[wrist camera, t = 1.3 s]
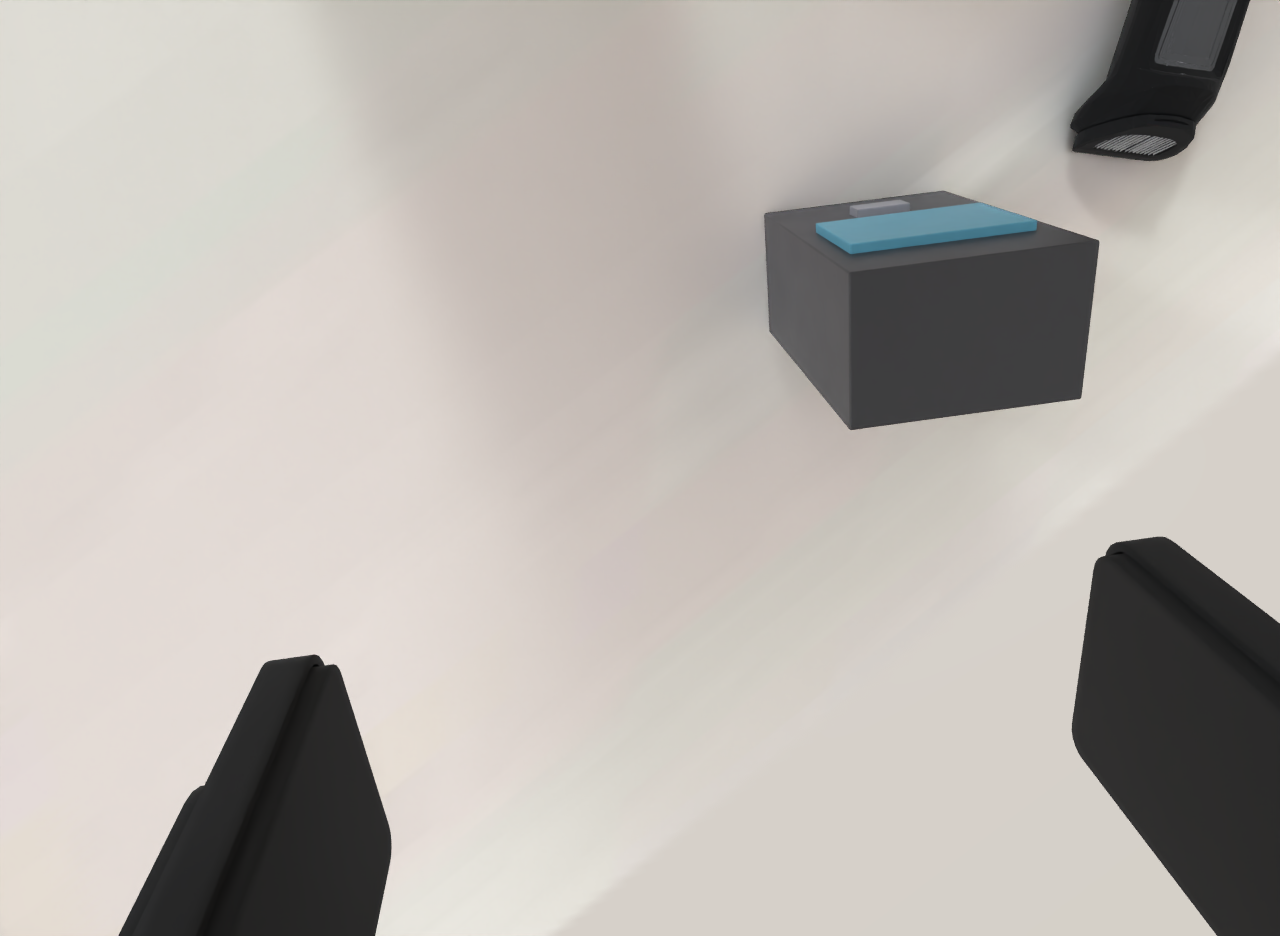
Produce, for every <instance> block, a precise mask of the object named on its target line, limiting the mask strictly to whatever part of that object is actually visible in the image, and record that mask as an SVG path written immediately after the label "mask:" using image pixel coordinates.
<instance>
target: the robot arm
mask: <svg viewBox="0 0 1280 936" xmlns="http://www.w3.org/2000/svg"><path fill="white" fill-rule="evenodd" d="M1072 735H1073V740H1074V743H1075V746H1076V748H1077V750H1078V753H1079V754H1080V756H1081V757H1082V759H1083V760H1084V762H1085V763H1086V764H1087V766H1088V767H1089V768H1090V769H1091V771H1092V772H1093V773H1094V775H1095V776H1096V777H1097V778H1098V780H1099V781H1100V783H1101V784H1102V785H1103V786H1104V788H1105V789H1106V791H1107V792H1108V793H1109V794H1110V796H1111V797H1112V798H1113V800H1114V801H1115V802H1116V804H1117V805H1118V806H1119V808H1120V809H1121V810H1122V811H1123V813H1124V814H1125V815H1126V817H1127V818H1128V819H1129V821H1130V822H1131V823H1132V825H1133V826H1134V827H1135V829H1136V830H1137V831H1138V832H1139V834H1140V835H1141V836H1142V838H1143V839H1144V840H1145V842H1146V843H1147V844H1148V846H1149V847H1150V848H1151V849H1152V851H1153V852H1154V853H1155V855H1156V856H1157V857H1158V859H1159V860H1160V861H1161V862H1162V864H1163V865H1164V867H1165V868H1166V869H1167V870H1168V872H1169V873H1170V874H1171V876H1172V877H1173V878H1174V880H1175V881H1176V882H1177V884H1178V885H1179V886H1180V887H1181V889H1182V890H1183V892H1184V893H1185V894H1186V895H1187V897H1188V898H1189V899H1190V901H1191V902H1192V903H1193V905H1194V906H1195V907H1196V909H1197V910H1198V911H1199V912H1200V914H1201V915H1202V916H1203V918H1204V919H1205V920H1206V922H1207V923H1208V924H1209V926H1210V927H1211V928H1212V929H1213V931H1214V932H1215V933H1216V935H1217V936H1280V623H1278V622H1277V621H1275V620H1274V619H1273V618H1272V617H1270V616H1269V615H1268V614H1267V613H1265V612H1264V611H1263V610H1261V609H1260V608H1259V607H1257V606H1256V605H1255V604H1254V603H1252V602H1251V601H1250V600H1248V599H1247V598H1246V597H1245V596H1243V595H1242V594H1240V593H1239V592H1238V591H1237V590H1235V589H1234V588H1233V587H1232V586H1230V585H1229V584H1228V583H1226V582H1225V581H1224V580H1222V579H1221V578H1220V577H1218V576H1217V575H1216V574H1215V573H1213V572H1212V571H1211V570H1209V569H1208V568H1207V567H1205V566H1204V565H1203V564H1202V563H1200V562H1199V561H1197V560H1196V559H1195V558H1194V557H1193V556H1191V555H1190V554H1189V553H1187V552H1186V551H1185V550H1183V549H1182V548H1180V546H1178V545H1177V544H1176V543H1174V542H1173V541H1171V540H1169V539H1167V538H1166V537H1153V538H1145V539H1139V540H1131V541H1124V542H1117V543H1114V544H1112V545H1111V546H1110V547H1109V549H1108V550H1107V552H1106V555H1105V556H1103V557H1100V558H1099V559H1098V560H1097V561H1096V563H1095V566H1094V570H1093V578H1092V585H1091V592H1090V599H1089V606H1088V613H1087V620H1086V628H1085V635H1084V642H1083V650H1082V656H1081V663H1080V671H1079V678H1078V685H1077V693H1076V699H1075V707H1074V713H1073V721H1072ZM390 859H391V834H390V828H389V824H388V821H387V818H386V815H385V812H384V808H383V805H382V802H381V799H380V796H379V792H378V789H377V786H376V783H375V780H374V777H373V773H372V770H371V767H370V764H369V761H368V757H367V754H366V751H365V748H364V745H363V741H362V738H361V735H360V732H359V729H358V726H357V722H356V719H355V716H354V713H353V710H352V706H351V703H350V700H349V697H348V694H347V691H346V687H345V684H344V681H343V678H342V675H341V672H340V670H339V668H338V667H337V665H334V664H333V665H326V666H325V665H324V663H323V661H322V660H321V658H320V657H319V656H317V655H308V656H301V657H294V658H287V659H280V660H272V661H268V662H266V663H265V664H264V665H263V667H262V668H261V670H260V672H259V674H258V676H257V678H256V680H255V682H254V684H253V686H252V688H251V691H250V693H249V695H248V697H247V699H246V701H245V703H244V705H243V707H242V709H241V711H240V713H239V715H238V717H237V719H236V722H235V724H234V726H233V728H232V730H231V732H230V734H229V736H228V738H227V740H226V742H225V744H224V746H223V748H222V751H221V753H220V755H219V757H218V759H217V761H216V763H215V765H214V767H213V769H212V771H211V773H210V775H209V777H208V779H207V782H206V784H205V786H200V787H199V788H197V789H196V790H194V791H193V792H192V793H191V794H190V796H189V797H188V799H187V800H186V802H185V803H184V805H183V807H182V809H181V811H180V813H179V815H178V817H177V819H176V821H175V823H174V825H173V827H172V829H171V831H170V833H169V835H168V837H167V839H166V841H165V843H164V845H163V847H162V849H161V851H160V853H159V855H158V857H157V859H156V861H155V863H154V865H153V867H152V870H151V872H150V874H149V876H148V878H147V880H146V882H145V884H144V886H143V888H142V890H141V892H140V894H139V896H138V898H137V900H136V902H135V904H134V906H133V908H132V910H131V912H130V914H129V916H128V918H127V920H126V922H125V924H124V926H123V928H122V930H121V932H120V934H119V936H375V933H376V928H377V924H378V919H379V914H380V909H381V904H382V899H383V894H384V889H385V884H386V880H387V875H388V870H389V865H390Z"/></svg>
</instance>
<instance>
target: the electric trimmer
mask: <svg viewBox="0 0 1280 936" xmlns="http://www.w3.org/2000/svg"><path fill="white" fill-rule="evenodd" d="M1249 2H1250V0H1132V1H1131V4H1130V7H1129V11H1128V14H1127V17H1126V20H1125V23H1124V26H1123V29H1122V32H1121V35H1120V38H1119V42H1118V45H1117V48H1116V51H1115V54H1114V57H1113V60H1112V63H1111V66H1110V69H1109V73H1108V76H1107V79H1106V81H1105V82H1104V83H1103V84H1102V86H1101V87H1100V88H1099V89H1098V90H1097V91H1096V92H1095V93H1094V94H1093V95H1092V96H1091V97H1090V98H1089V99H1088V100H1087V101H1086V102H1085V103H1084V104H1083V105H1082V106H1081V107H1080V109H1079V110H1078V111H1077V112H1076V113H1075V115H1074V117H1073V120H1072V122H1071V125H1070V127H1071V128H1072V129H1073V130H1074V131H1076V132H1077V133H1078V134H1077V135H1076V137H1075V141H1074V145H1073V149H1072V151H1074V152H1080V153H1085V154H1086V153H1088V154H1096V155H1102V156H1103V155H1104V156H1110V157H1111V156H1112V157H1119V158H1127V159H1135V160H1144V161H1158V160H1162V159H1166V158H1169V157H1172V156H1175V155H1177V154H1178V153H1180V152H1181V151H1182V150H1184V149H1185V148H1187V146H1188V145H1189V144H1190V142H1191V141H1192V140H1193V139H1194V135H1195V129H1196V125H1197V124H1198V122H1199V121H1200V120H1201V119H1202V118H1203V116H1204V115H1205V114H1206V113H1207V112H1208V110H1209V109H1210V108H1211V107H1212V105H1213V104H1214V102H1215V100H1216V98H1217V95H1218V93H1219V90H1220V87H1221V85H1222V82H1223V80H1224V77H1225V75H1226V72H1227V69H1228V67H1229V64H1230V61H1231V58H1232V55H1233V52H1234V49H1235V46H1236V42H1237V39H1238V36H1239V33H1240V30H1241V27H1242V24H1243V21H1244V17H1245V14H1246V11H1247V8H1248V5H1249Z"/></svg>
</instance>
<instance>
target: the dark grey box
mask: <svg viewBox="0 0 1280 936" xmlns="http://www.w3.org/2000/svg"><path fill="white" fill-rule="evenodd" d="M764 218H765V240H766V262H767V285H768V307H769V329H770V332H771V334H772V335H773V336H774V337H775V338H776V340H777V341H778V342H779V343H780V345H781V346H782V347H783V348H784V349H785V351H786V352H787V353H788V354H789V356H790V357H791V358H792V359H793V361H794V362H795V363H796V364H797V365H798V367H799V368H800V369H801V370H802V372H803V373H804V374H805V375H806V376H807V378H808V379H809V380H810V381H811V383H812V384H813V385H814V386H815V387H816V389H817V390H818V391H819V392H820V394H821V395H822V396H823V397H824V399H825V400H826V401H827V402H828V403H829V405H830V406H831V407H832V408H833V410H834V411H835V412H836V413H837V414H838V416H839V417H840V418H841V419H842V421H843V422H844V423H845V424H846V425H847V427H848V428H849V429H850V430H854V429H862V428H869V427H876V426H884V425H891V424H898V423H906V422H913V421H920V420H928V419H935V418H943V417H950V416H957V415H965V414H972V413H979V412H987V411H994V410H1001V409H1009V408H1016V407H1023V406H1031V405H1038V404H1045V403H1053V402H1060V401H1067V400H1075V399H1080V398H1081V395H1082V387H1083V378H1084V370H1085V361H1086V352H1087V344H1088V335H1089V327H1090V318H1091V310H1092V301H1093V292H1094V284H1095V275H1096V267H1097V258H1098V250H1099V240H1096V239H1093V238H1089V237H1086V236H1083V235H1080V234H1077V233H1074V232H1071V231H1068V230H1064V229H1061V228H1058V227H1055V226H1052V225H1049V224H1046V223H1042V222H1039V221H1037V220H1034V219H1031V218H1028V217H1025V216H1022V215H1019V214H1015V213H1012V212H1009V211H1006V210H1003V209H1000V208H997V207H993V206H990V205H987V204H984V203H981V202H977V201H974V200H971V199H967V198H964V197H961V196H958V195H955V194H952V193H949V192H946V191H938V192H930V193H922V194H914V195H906V196H898V197H890V198H882V199H875V200H867V201H859V202H851V203H843V204H835V205H827V206H819V207H811V208H803V209H795V210H787V211H780V212H772V213H766V214H765V215H764Z"/></svg>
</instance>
